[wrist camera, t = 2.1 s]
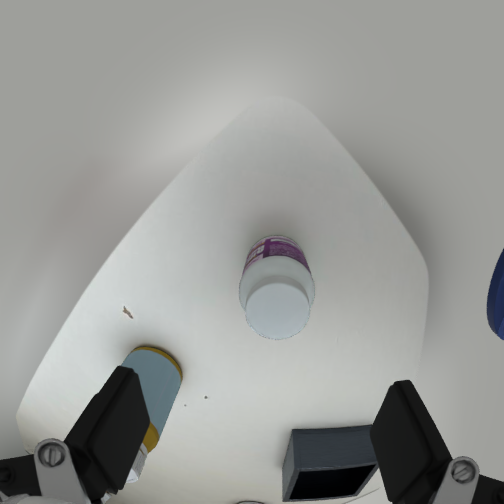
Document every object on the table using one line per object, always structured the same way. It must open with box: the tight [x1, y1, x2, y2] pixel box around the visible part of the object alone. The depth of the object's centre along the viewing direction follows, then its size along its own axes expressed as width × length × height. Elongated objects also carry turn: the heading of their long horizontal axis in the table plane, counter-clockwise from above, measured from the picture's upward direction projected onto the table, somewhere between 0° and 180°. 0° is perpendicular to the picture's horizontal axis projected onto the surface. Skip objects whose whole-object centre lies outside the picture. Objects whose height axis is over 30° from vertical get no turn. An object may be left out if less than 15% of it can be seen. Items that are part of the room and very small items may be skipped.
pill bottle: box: [239, 236, 315, 340], centre depth 22 cm, size 5×5×10 cm
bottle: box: [121, 347, 182, 483], centre depth 23 cm, size 7×7×15 cm
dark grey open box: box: [282, 425, 379, 502], centre depth 30 cm, size 12×12×7 cm
